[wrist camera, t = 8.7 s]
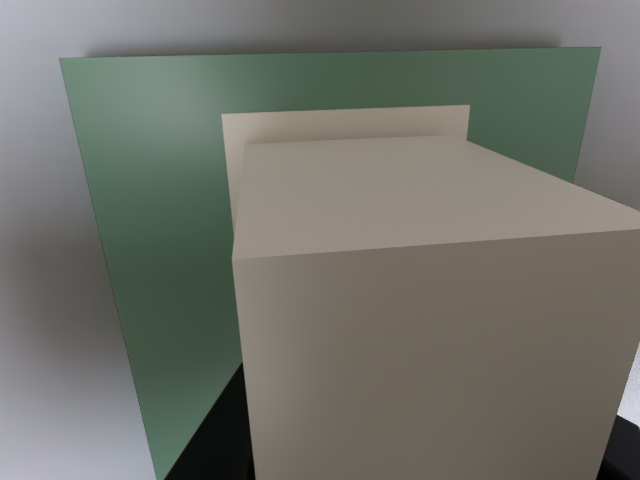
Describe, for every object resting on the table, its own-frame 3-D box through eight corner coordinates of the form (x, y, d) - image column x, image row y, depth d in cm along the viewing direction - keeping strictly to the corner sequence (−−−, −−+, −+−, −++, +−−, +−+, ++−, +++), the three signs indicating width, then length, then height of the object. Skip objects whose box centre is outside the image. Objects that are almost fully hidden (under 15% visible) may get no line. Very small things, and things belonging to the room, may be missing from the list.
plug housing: (420, 466, 12) (520, 717, 8) (274, 486, 12) (286, 765, 7) (452, 134, 9) (675, 225, 4) (245, 143, 8) (230, 258, 4)
